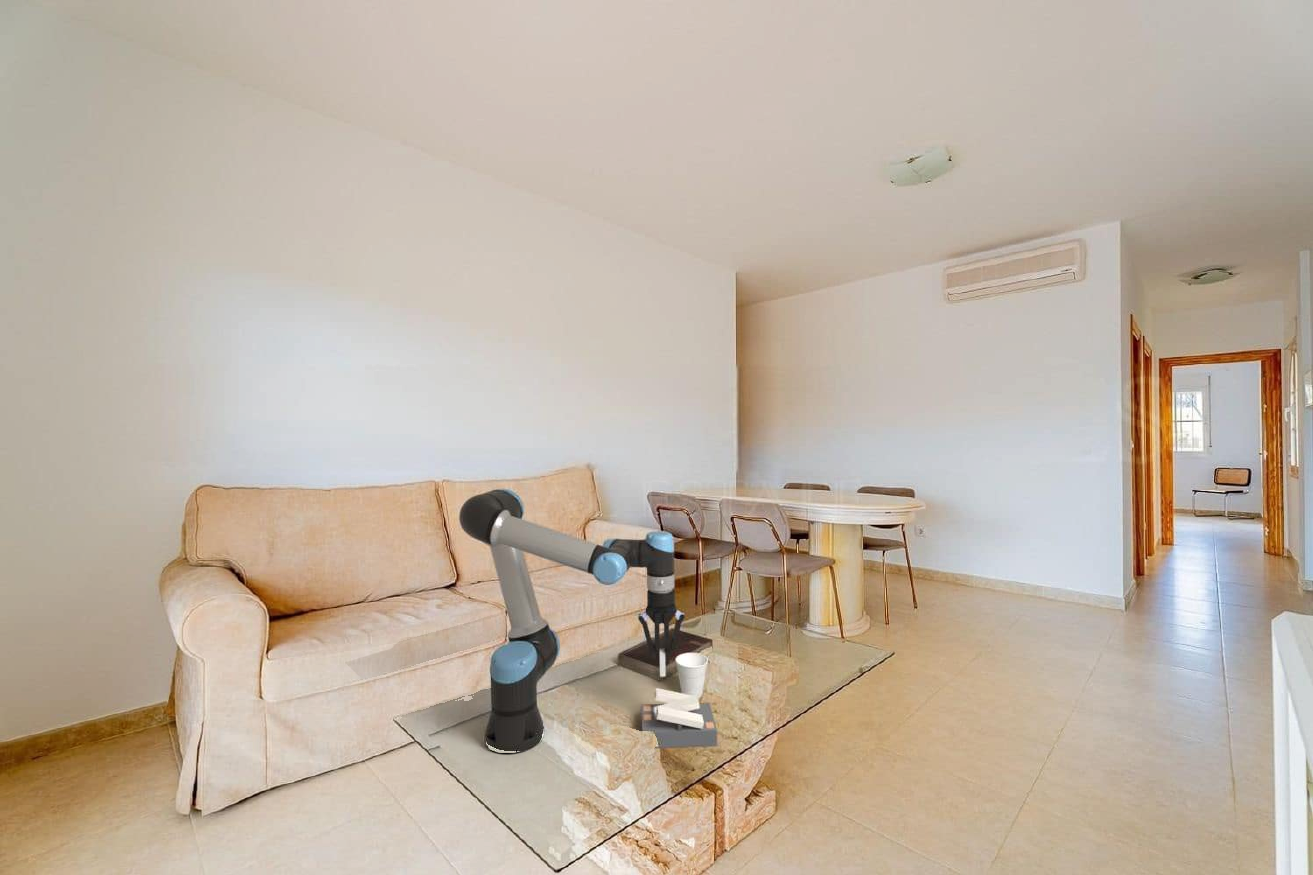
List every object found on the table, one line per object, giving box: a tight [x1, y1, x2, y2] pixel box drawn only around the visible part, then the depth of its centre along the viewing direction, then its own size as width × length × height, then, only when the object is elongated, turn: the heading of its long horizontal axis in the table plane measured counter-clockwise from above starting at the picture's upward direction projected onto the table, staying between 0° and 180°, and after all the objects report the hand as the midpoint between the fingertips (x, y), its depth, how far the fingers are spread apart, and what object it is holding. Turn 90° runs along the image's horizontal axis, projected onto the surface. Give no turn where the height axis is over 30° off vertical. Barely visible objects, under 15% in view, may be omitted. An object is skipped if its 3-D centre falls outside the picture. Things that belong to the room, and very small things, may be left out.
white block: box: [654, 695, 700, 720], centre depth 148 cm, size 12×4×2 cm, turn 92°
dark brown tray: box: [617, 627, 713, 683], centre depth 194 cm, size 29×19×5 cm, turn 140°
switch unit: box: [640, 702, 718, 749], centre depth 149 cm, size 19×14×6 cm
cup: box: [675, 653, 709, 700], centre depth 168 cm, size 10×10×11 cm
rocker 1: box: [654, 687, 700, 704], centre depth 153 cm, size 12×4×2 cm, turn 94°
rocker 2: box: [656, 706, 704, 729], centre depth 144 cm, size 12×4×2 cm, turn 94°
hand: (662, 674), depth 153 cm, fingers closed
